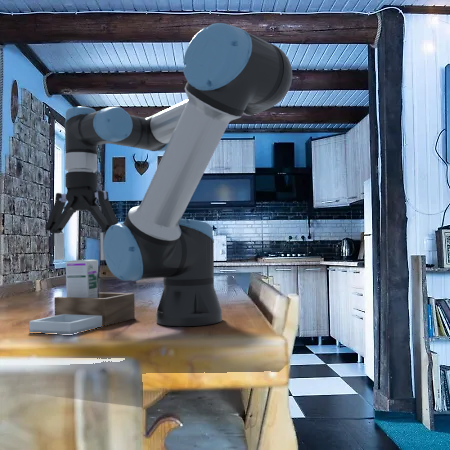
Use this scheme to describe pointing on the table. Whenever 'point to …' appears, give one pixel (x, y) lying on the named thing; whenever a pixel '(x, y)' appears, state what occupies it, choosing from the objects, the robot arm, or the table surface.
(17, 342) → the table surface
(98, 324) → the tray
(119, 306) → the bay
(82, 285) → the syrup box
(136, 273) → the robot arm
